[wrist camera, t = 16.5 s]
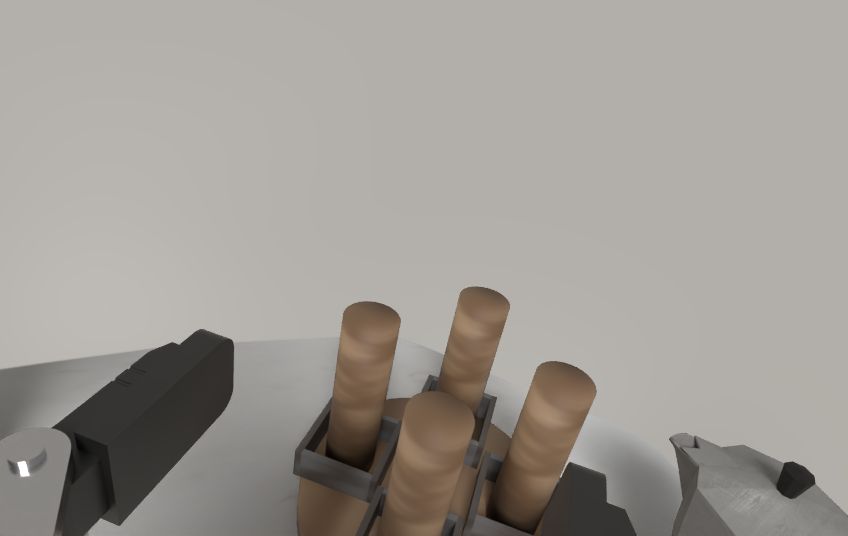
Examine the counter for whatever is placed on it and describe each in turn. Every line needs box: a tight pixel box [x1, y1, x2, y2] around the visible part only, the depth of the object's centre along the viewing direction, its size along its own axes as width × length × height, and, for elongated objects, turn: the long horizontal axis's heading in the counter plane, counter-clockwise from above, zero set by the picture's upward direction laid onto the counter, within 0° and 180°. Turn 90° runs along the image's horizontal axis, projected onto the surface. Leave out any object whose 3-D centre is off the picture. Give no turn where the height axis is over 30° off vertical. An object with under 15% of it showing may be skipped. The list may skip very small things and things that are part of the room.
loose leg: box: [377, 391, 475, 536], centre depth 34 cm, size 4×4×14 cm
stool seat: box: [293, 287, 597, 536], centre depth 41 cm, size 20×20×17 cm
